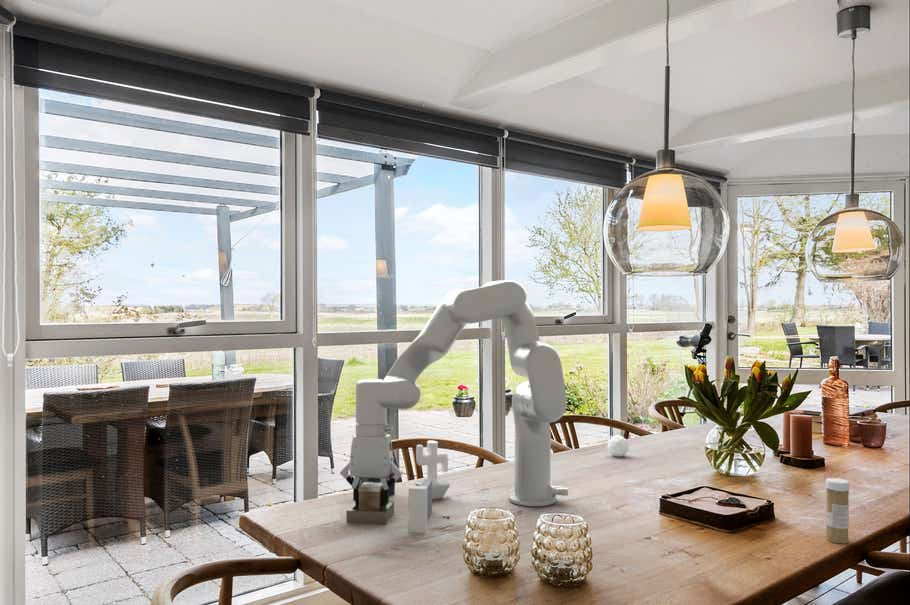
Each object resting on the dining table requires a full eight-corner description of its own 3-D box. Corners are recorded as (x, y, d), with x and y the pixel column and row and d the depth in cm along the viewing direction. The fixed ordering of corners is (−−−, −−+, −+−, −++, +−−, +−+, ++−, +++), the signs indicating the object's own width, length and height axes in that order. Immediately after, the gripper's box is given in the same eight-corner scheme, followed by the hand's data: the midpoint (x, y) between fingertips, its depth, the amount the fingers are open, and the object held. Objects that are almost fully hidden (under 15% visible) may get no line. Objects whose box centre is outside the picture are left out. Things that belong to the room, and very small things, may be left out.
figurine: (453, 497, 183) (454, 441, 183) (423, 502, 178) (423, 445, 178) (440, 490, 189) (440, 437, 189) (410, 495, 184) (410, 440, 184)
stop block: (384, 515, 167) (384, 482, 167) (379, 522, 162) (379, 488, 162) (363, 514, 168) (364, 482, 168) (358, 521, 163) (358, 487, 163)
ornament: (625, 459, 228) (610, 439, 229) (612, 462, 234) (598, 443, 235) (637, 446, 232) (622, 427, 232) (624, 450, 238) (610, 432, 239)
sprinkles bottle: (825, 536, 153) (825, 476, 153) (848, 539, 151) (848, 478, 151) (826, 542, 149) (826, 481, 149) (850, 545, 147) (850, 483, 147)
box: (369, 499, 181) (369, 459, 181) (360, 494, 185) (360, 455, 185) (395, 494, 185) (395, 456, 185) (385, 490, 190) (386, 452, 190)
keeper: (394, 512, 169) (394, 500, 169) (385, 524, 160) (385, 512, 160) (356, 511, 170) (357, 499, 170) (346, 523, 161) (346, 510, 161)
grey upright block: (436, 511, 170) (436, 471, 170) (425, 532, 154) (425, 488, 154) (420, 510, 171) (420, 471, 171) (408, 532, 155) (408, 488, 155)
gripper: (408, 428, 168) (408, 501, 168) (341, 426, 170) (341, 498, 170) (403, 433, 160) (402, 510, 160) (332, 432, 162) (332, 507, 162)
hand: (371, 503), depth 165 cm, fingers open, 5 cm apart
